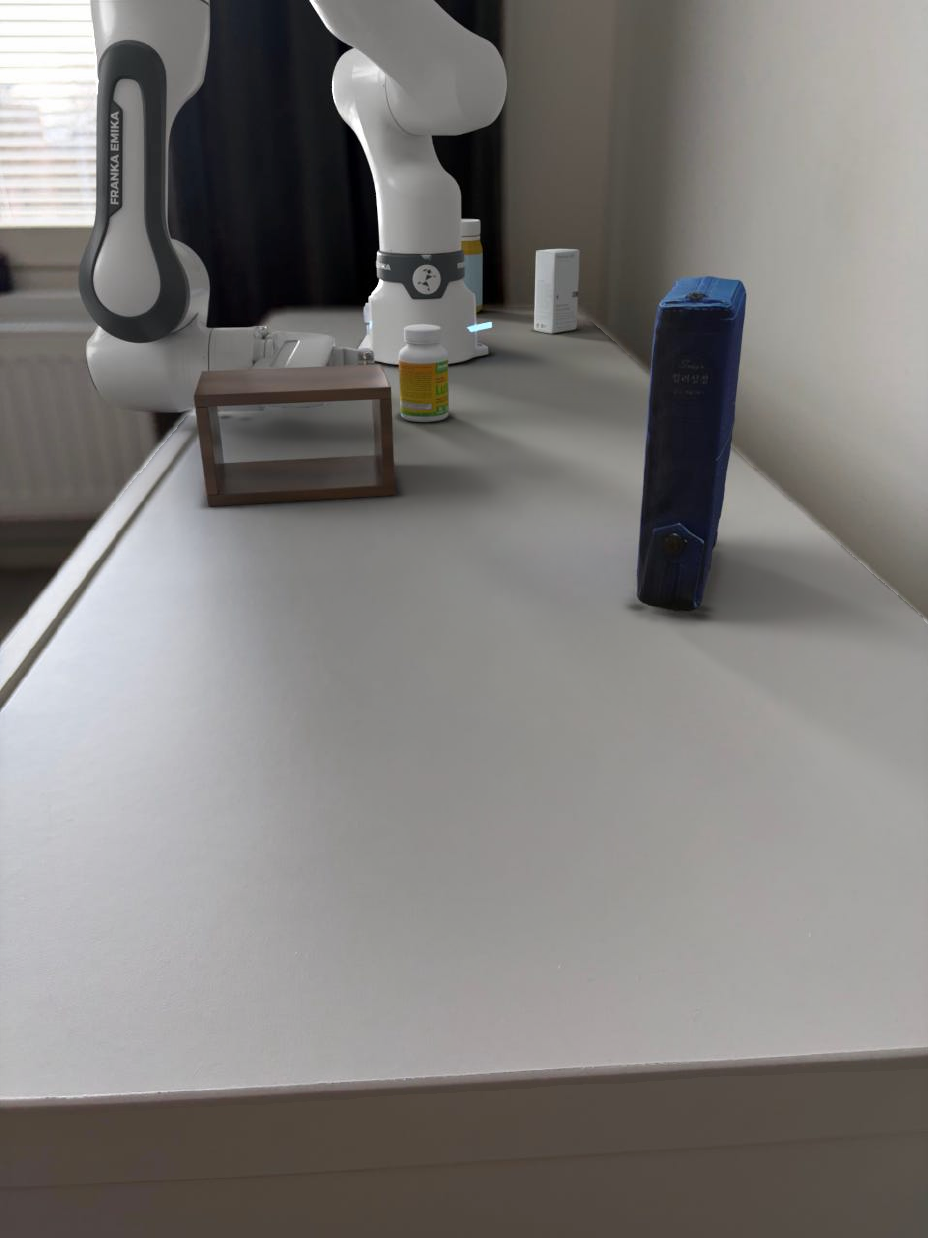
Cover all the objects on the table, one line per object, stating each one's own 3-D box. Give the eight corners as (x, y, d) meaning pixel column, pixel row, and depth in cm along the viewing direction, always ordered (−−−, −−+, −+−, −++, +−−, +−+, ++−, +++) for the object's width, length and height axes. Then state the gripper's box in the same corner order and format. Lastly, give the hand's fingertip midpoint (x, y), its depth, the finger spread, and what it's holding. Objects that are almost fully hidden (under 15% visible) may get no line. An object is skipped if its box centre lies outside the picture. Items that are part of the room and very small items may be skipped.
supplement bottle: (442, 424, 105) (441, 332, 100) (395, 421, 106) (391, 330, 101) (453, 411, 109) (452, 323, 105) (407, 409, 110) (404, 322, 106)
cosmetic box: (553, 334, 151) (556, 252, 146) (532, 330, 154) (534, 250, 149) (578, 329, 155) (582, 249, 149) (557, 325, 158) (560, 247, 152)
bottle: (439, 313, 168) (438, 221, 162) (446, 307, 175) (446, 218, 168) (478, 314, 167) (479, 222, 161) (484, 308, 174) (485, 218, 167)
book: (705, 624, 62) (745, 300, 53) (623, 613, 63) (648, 296, 54) (720, 542, 74) (754, 269, 65) (650, 535, 76) (675, 266, 67)
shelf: (214, 473, 90) (201, 370, 85) (385, 464, 92) (381, 364, 88) (207, 506, 82) (193, 395, 77) (395, 495, 84) (391, 386, 80)
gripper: (224, 360, 94) (366, 358, 94) (255, 323, 112) (374, 321, 112) (232, 424, 97) (369, 422, 97) (261, 377, 115) (377, 375, 115)
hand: (372, 367), depth 105 cm, fingers open, 8 cm apart
